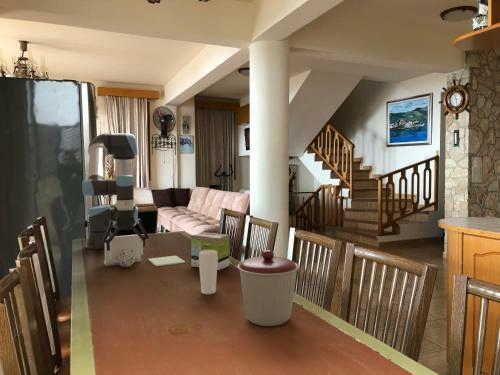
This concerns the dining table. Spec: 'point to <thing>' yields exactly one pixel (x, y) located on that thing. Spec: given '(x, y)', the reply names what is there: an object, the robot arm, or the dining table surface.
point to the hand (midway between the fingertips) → (126, 256)
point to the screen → (123, 248)
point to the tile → (166, 260)
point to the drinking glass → (208, 270)
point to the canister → (268, 288)
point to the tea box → (210, 247)
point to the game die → (126, 258)
